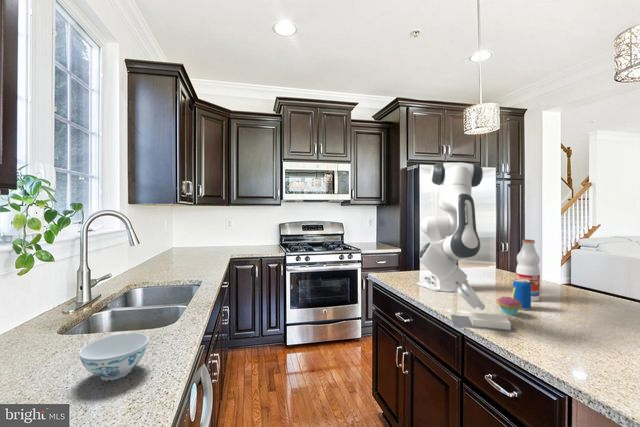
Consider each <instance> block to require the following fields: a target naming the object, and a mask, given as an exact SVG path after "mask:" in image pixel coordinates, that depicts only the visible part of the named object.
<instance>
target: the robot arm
mask: <svg viewBox="0 0 640 427" xmlns="http://www.w3.org/2000/svg"><path fill="white" fill-rule="evenodd" d="M429 176H430V179H431V182H432V183H433V185H436V186H440V189H439V195H438V196H439V197H438V201H437V202H438V204H437V205H438V207H439V208H440V209H441V210H442V211H444V212H446V213H448V214H445V215H442V214H441V215H439V214H437V215H436V214H433V215H428V216H425V217H423V218H422V220H421V222H420V228H421V232H422V233H423V234H424V235H426V236H427V237H428V238H429V239H430V240H431V241H430V242H428V243H426V244H425V245H424V246H423V247H422V248H421V250H420V252H419V256H418V258H419V260H420V262H421V263H422V264H423V266H424V267H425V268H426V269H427V270H426V271H424V272H422V275H421V279H420V280H419V281H417V282H416V285H418V286H420V287H422V288H425V289H428V290H431V291H434V292H455V293H458V294H459V296H460V297H462V299H463V300H464V301H465V302H466V303H467V304H468V305H469V306H470V307H471V308H473V309H477V308H479V309H480V310H481V311H483V310H485V309H486V306H485V304H483V301H481V299H480V297H479V296H478V294H477V293H476V292H475V291H474V289H473V287H472V286H471V285H470V284H469V280H467V278H468V275H467V274H466V273H465V271H463V270H462V268H460V267H459V263H458V261H461V260H464V259H467V258H472V257H474V256H476V255H477V254H479V252H480V250H481V240H480V237H479V234H478V231H477V222H476V210H475V201H474V198H473V197H472V189H473V188H475V187H476V188H477V187H478V186H479V185H480V184H481V182H482V181H483V178H484V171H483V167H482V166H481V165H480V164H477V163H467V162H437V163H435V164H434V165H433V166H432V167H431V170H430V175H429Z"/></svg>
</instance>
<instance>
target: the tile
mask: <svg viewBox="0 0 640 427" xmlns="http://www.w3.org/2000/svg"><path fill="white" fill-rule="evenodd" d="M468 316H469V319H470V321H471V323H472V325H473V326H478V327H488V328H497V329H507V330H511V325H512V323H511V321H510V320H509V319H508V318H507V316H506V315H505V314H497V313H496V314H493V313H484V312H483V313H482V312H473V311H472V312H471V311H469V312H468Z"/></svg>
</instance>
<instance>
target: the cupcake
mask: <svg viewBox="0 0 640 427" xmlns="http://www.w3.org/2000/svg"><path fill="white" fill-rule="evenodd" d="M515 287H516V286H515ZM515 289H516V288H514V289H513V288H512V293H511V294H512V295H511V296H502V297H500V298H498V299H497V301H496V304H497V305H498V306H499V307H500V310H501V313H502V314H503V315H507V316H517V314H518V312H519V310H521V309H520V308H521V307H522V303H521V302H520V301H519V300H517V299H515V298H514V294H515Z"/></svg>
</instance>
